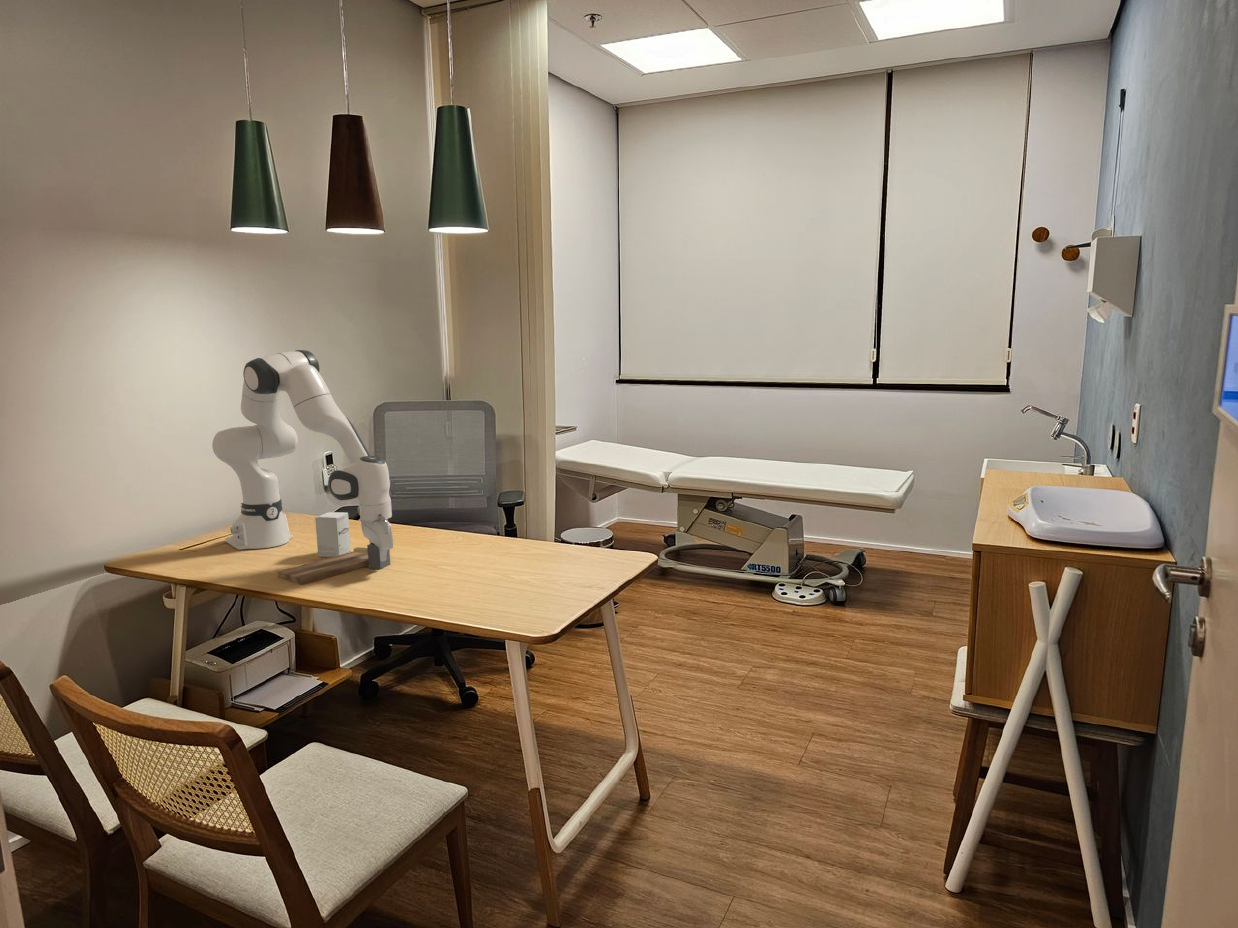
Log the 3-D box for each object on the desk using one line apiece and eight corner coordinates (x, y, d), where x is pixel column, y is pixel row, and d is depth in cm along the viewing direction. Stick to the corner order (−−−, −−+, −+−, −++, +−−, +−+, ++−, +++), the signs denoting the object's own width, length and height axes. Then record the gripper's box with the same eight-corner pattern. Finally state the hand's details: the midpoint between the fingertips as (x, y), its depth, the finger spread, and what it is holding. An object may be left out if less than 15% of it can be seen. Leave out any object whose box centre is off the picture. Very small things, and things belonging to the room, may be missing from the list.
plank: (278, 576, 230) (277, 571, 229) (362, 553, 251) (362, 548, 251) (301, 584, 222) (301, 578, 222) (386, 560, 244) (386, 554, 244)
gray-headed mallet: (351, 566, 238) (349, 543, 237) (361, 561, 243) (359, 539, 242) (380, 569, 235) (379, 546, 234) (390, 564, 240) (388, 541, 239)
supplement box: (339, 557, 248) (336, 517, 246) (317, 556, 249) (314, 516, 247) (351, 551, 255) (348, 512, 253) (330, 550, 256) (327, 511, 254)
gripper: (397, 517, 228) (400, 564, 231) (377, 504, 245) (380, 548, 248) (374, 520, 225) (378, 568, 227) (356, 506, 242) (359, 551, 245)
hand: (379, 557), depth 238 cm, fingers closed on gray-headed mallet, 6 cm apart
